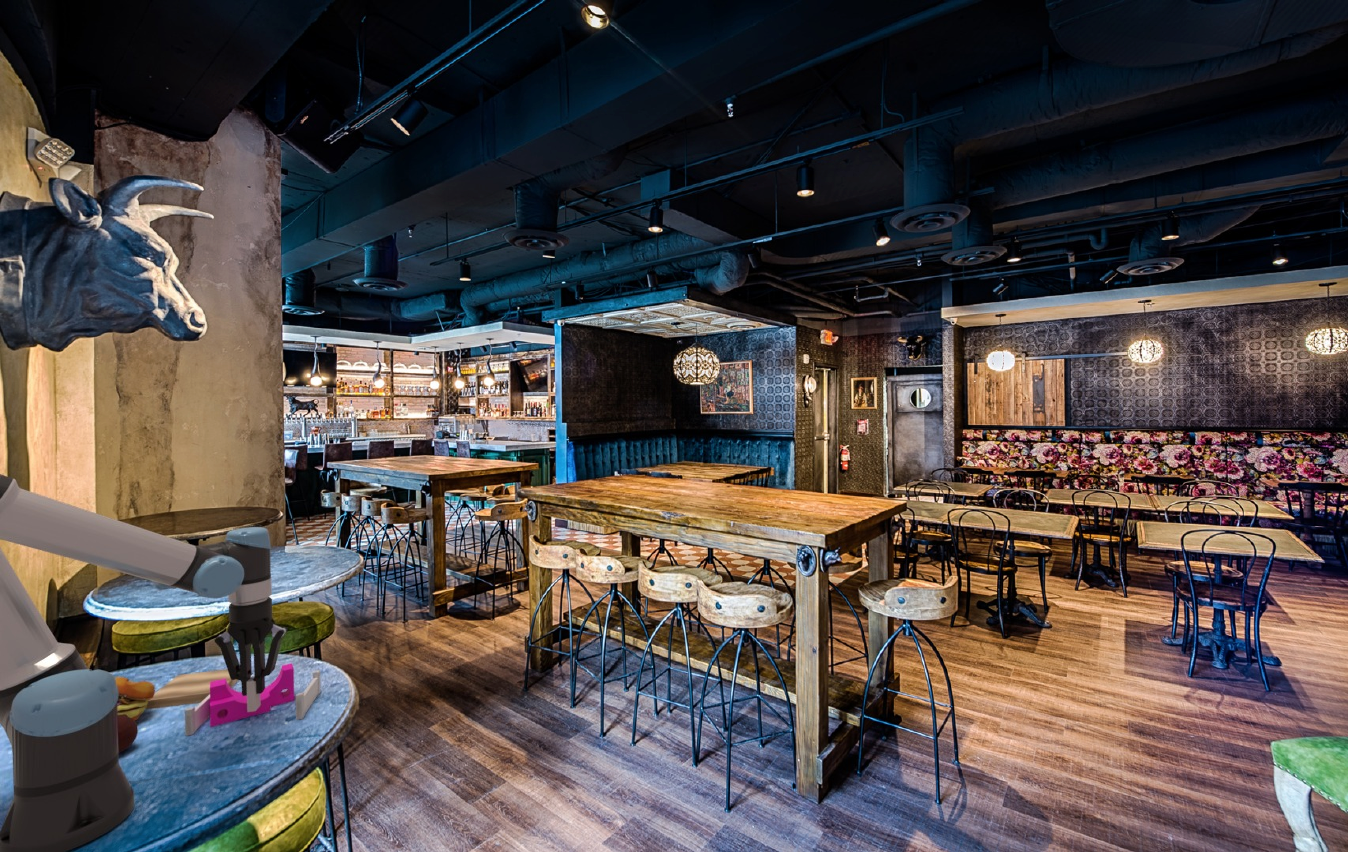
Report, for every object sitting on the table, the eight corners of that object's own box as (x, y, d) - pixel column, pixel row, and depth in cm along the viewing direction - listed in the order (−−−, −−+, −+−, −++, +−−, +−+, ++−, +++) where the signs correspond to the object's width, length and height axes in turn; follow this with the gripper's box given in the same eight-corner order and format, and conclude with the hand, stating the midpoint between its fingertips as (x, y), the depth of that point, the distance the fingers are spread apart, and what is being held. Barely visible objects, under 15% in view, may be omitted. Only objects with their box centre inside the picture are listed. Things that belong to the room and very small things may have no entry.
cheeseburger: (62, 726, 119) (86, 674, 122) (123, 724, 128) (144, 675, 131) (89, 733, 115) (113, 678, 119) (150, 730, 124) (170, 680, 128)
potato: (87, 769, 107) (86, 731, 107) (83, 754, 112) (82, 718, 112) (141, 751, 112) (140, 715, 112) (135, 738, 117) (134, 703, 117)
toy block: (210, 727, 121) (209, 692, 121) (211, 715, 126) (210, 681, 126) (295, 704, 130) (294, 671, 130) (292, 694, 135) (292, 663, 135)
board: (219, 700, 133) (218, 691, 133) (145, 709, 129) (144, 700, 129) (244, 674, 146) (244, 666, 146) (178, 682, 142) (178, 674, 142)
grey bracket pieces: (302, 718, 124) (301, 694, 124) (185, 735, 118) (184, 710, 118) (320, 691, 136) (320, 669, 136) (215, 705, 130) (214, 683, 130)
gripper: (291, 591, 129) (294, 695, 130) (223, 598, 126) (226, 705, 126) (278, 601, 122) (282, 712, 123) (206, 608, 119) (209, 722, 119)
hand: (254, 708), depth 124 cm, fingers closed
